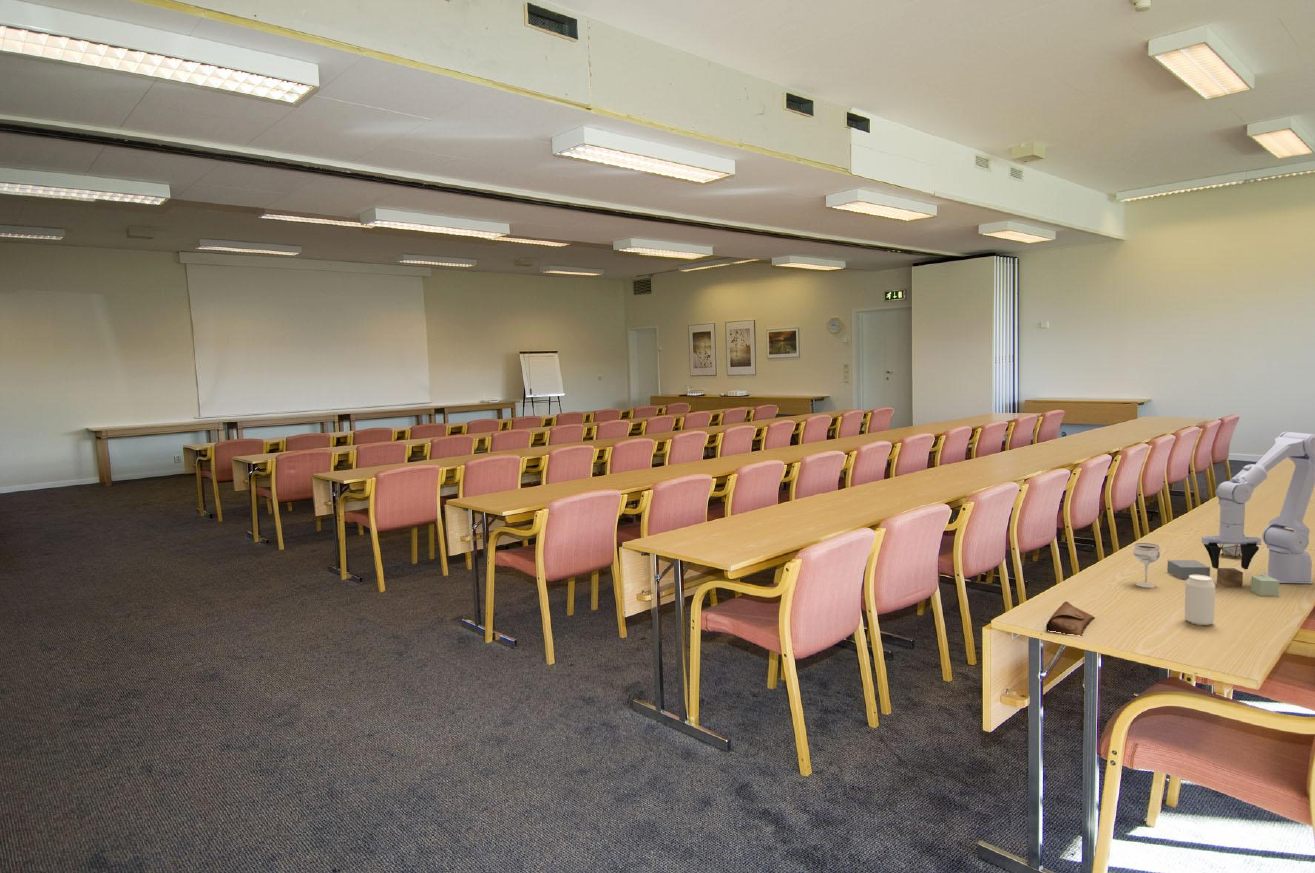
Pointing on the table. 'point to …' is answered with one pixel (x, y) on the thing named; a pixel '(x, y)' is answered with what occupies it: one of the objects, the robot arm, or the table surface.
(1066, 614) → the sunglasses case
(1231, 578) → the walnut block
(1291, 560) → the robot arm
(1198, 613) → the beverage can
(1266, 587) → the sage-green block
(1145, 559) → the wineglass
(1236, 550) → the game die
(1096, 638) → the table surface
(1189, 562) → the grey square block
